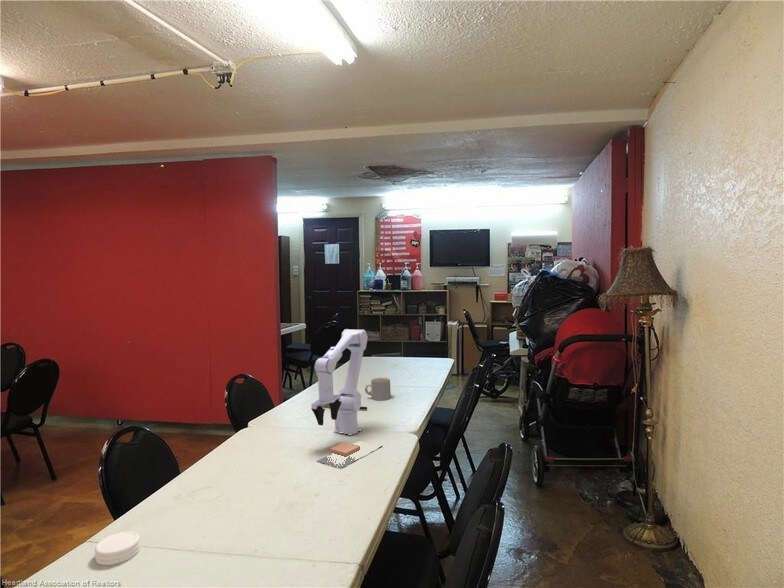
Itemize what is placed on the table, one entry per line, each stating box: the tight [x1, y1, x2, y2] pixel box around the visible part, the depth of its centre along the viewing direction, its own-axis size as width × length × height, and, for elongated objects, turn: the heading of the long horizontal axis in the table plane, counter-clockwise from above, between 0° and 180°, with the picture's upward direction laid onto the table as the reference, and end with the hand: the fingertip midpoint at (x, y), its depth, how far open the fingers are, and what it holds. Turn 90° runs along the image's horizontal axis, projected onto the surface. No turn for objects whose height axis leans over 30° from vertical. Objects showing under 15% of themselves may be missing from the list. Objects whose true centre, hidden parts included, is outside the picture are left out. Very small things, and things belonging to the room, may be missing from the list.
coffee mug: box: [364, 376, 392, 402], centre depth 256 cm, size 13×10×10 cm
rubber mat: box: [316, 455, 357, 469], centre depth 182 cm, size 12×24×1 cm, turn 144°
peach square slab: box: [329, 441, 360, 457], centre depth 184 cm, size 2×8×8 cm
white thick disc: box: [94, 530, 141, 566], centre depth 123 cm, size 10×10×4 cm
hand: (327, 422), depth 191 cm, fingers open, 7 cm apart
